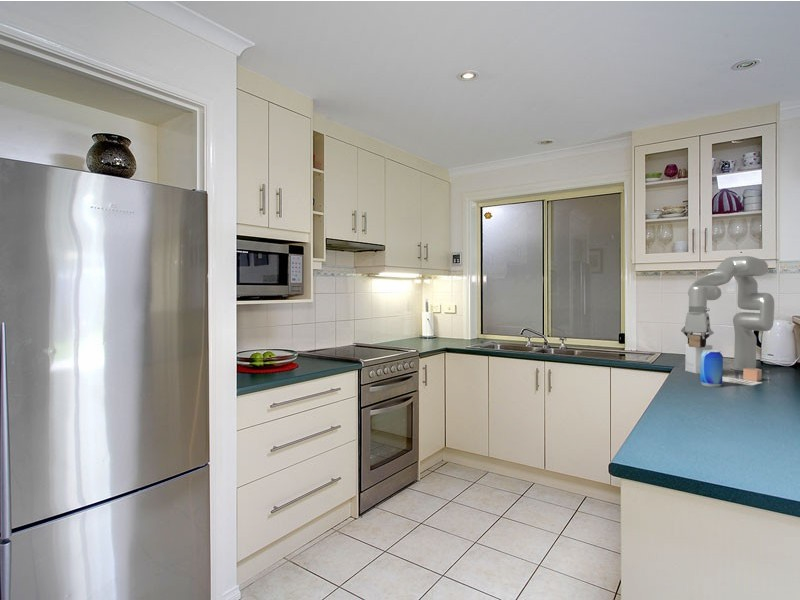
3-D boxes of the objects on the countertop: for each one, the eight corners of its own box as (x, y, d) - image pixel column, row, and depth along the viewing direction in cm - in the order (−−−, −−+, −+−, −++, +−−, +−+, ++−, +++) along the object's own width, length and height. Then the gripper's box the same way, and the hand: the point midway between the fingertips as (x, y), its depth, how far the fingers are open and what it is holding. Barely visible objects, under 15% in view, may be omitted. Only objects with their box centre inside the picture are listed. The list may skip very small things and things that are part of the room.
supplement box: (712, 374, 236) (713, 345, 236) (695, 373, 236) (695, 345, 236) (701, 370, 245) (702, 343, 245) (684, 370, 245) (685, 343, 245)
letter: (722, 376, 228) (722, 376, 228) (763, 382, 214) (763, 382, 214) (710, 379, 221) (710, 379, 221) (751, 385, 207) (751, 385, 207)
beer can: (715, 383, 212) (716, 349, 211) (726, 387, 203) (727, 352, 203) (696, 383, 212) (697, 349, 212) (706, 387, 204) (707, 351, 204)
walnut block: (693, 346, 232) (693, 334, 232) (704, 347, 228) (704, 335, 228) (688, 346, 229) (689, 334, 229) (699, 347, 225) (700, 335, 225)
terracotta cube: (748, 378, 224) (748, 367, 224) (761, 380, 220) (761, 369, 219) (743, 379, 221) (743, 368, 221) (756, 381, 217) (757, 370, 216)
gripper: (720, 310, 223) (719, 347, 224) (682, 309, 237) (682, 344, 238) (713, 311, 219) (712, 348, 219) (675, 309, 233) (675, 344, 233)
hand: (696, 345), depth 228 cm, fingers closed on walnut block, 5 cm apart
